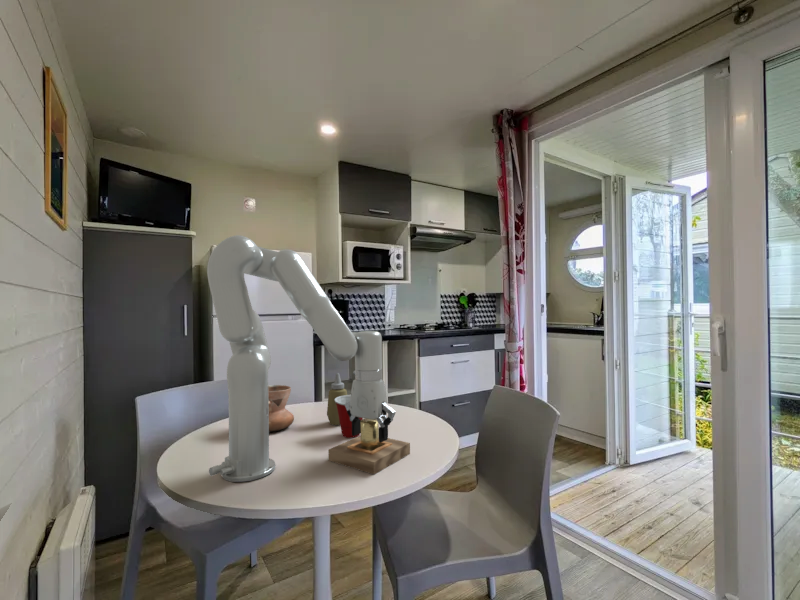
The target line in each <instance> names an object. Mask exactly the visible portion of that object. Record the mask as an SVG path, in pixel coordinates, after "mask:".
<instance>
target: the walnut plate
mask: <svg viewBox="0 0 800 600" xmlns="http://www.w3.org/2000/svg"><path fill="white" fill-rule="evenodd" d="M327 453H328V461H329V462H331V463H335V464H338V465H341V466H346V467H347V468H348V467H349V468H351V469H355V470H358V471H361V472H363V473H364V472H365V473H368V474H371V475H376V474H377V473H380V472H382V471H383V470H384V469H386V468H388V467H390V466H392V465H393V464H395V463H397V462H399V461H400V460H402V459H404V458H405V457H407V456H408V455H410V454H411V442H408V441H403V440H398V439H393V438H389V437H388V439H387V440H386V441H383V442H379V448H377V449H375V450H373V451H369V450H365V449H361V435H359V436H357V437H353V438H352V439H349V440H347V441H345V442H343V443H341V444H337V445H336V446H333V447H331V448H328V452H327Z"/></svg>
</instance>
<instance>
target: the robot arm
mask: <svg viewBox="0 0 800 600" xmlns="http://www.w3.org/2000/svg"><path fill="white" fill-rule="evenodd" d="M206 272H207V282H208V285H209V290H210V294H211V298H212V302H213V307H214V311H215V312H214V313H215V315H216V320H217V323H218V329H219V333H220V334H221V336H222V338H224V339H225V340H226V341H227V342H229V345H230V349H231V353H232V356H231V357H230V358H229V360H228V363H227V366H226V380H227V394H228V456H225V457H224V461H222V462H221V464H219V465H214V466H211V467H209V468H208V473H209V476H210V477H213V476H216V475H220V476H221V477H222V479H224V480H226V481H228V482H233V483H241V482H242V483H243V482H249V481H250V482H251V481H255V480H258V479H261V478H264V477H266V476H268V475H270V474H271V473H273V472H274V471H275V469H276V461H275V460H274V459H272V458H270V432H269V398H268V386H269V369H270V367H271V362H272V358H271V352H270V350H269V349H270V348H269V345H268V342H267V338H266V334H265V330H264V326H263V322H262V320H261V317H260V315H259V313H257V312H256V311H255V310H254V309H253V306H252V303H251V300H250V295H249V291H248V287H247V284H246V281H245V274H246V275H250V276H254V277H257V278H260V279H261V278H262V279H265V280H270V281H275V282H278V283H279V285H280V286H281V288H282V289H283V290H284V292H285V293H286V295H287V296H288V298H289V299H290V301H291V302H292V304H293V306H295V308H296V310H297V311H298V312H299V314H300V315H301V316H302V317H303V319H305V321H307V323H308V324H309V326H310V327H311V328H312V329H313V330H314V331H313V332H315V334H316V335H317V336H318V338H319V339H320V341H321V342H322V344H323V345H324V347H325V348H326V350H327V351H328V353H329V354H330V355H331V357H332V358H333V359H335V360H337V361H339V362H347V361H349V360H351V359H353V358H354V369H355V370H353V375H354V377H355V378H354V379H353V380H352V385H351V391H350V395H351V400H350V401H349V402H347V403H346V404H345V407H346V410H347V414H348V415H349V417H350V421H352V436H355V435H357V434H360V435H361V430H360V421H361V419H359V417H360V418H363V419H370V420H376V419H377V421H378V425H379V442H383V441H386V440H387V439H388V438H389V437H388V436H389V426H390V425H391V423H392V422H393V421H394V417H395V415H396V413H397V412H396V410H394V408H392V407H391V406H390V405H388V402H387V401H388V398H387V391H386V385H385V382H384V380H383V350H382V349H383V337H382V334H381V332H379V331H377V330H366V331H356V332H355V331H351V330H350V328H349V326H348V325H347V323H346V322H345V320H344V318H342V315H340V313H339V312H338V310H337V309H336V308H335V306H334V305H333V304H332V302H331V300H330V298H329V296H328V295H327V294H326V292H325V291H324V290H323V287H321V285H320V283H319V281H317V279H316V277H315V276H314V274H313V273H312V271H311V270H310V269H309V267H308V266H307V264H306V262H305V261H304V260H303V258H302V257H301V256H300V254H299V253H297V251H295V250H293V249H282V250H279V251H277V250H271V249H268V248H264V247H262V246H258V245H257V244H256V242H254V240H252V239H251V238H249V237H247V236H245V235H232V236H228V237H226V238H225V239H224V240H221V241H220V243H218V245H216V246H215V247H214V249H213V250H212V252H211V254H210V256H209V258H208V262H207V268H206Z"/></svg>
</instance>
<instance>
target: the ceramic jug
mask: <svg viewBox="0 0 800 600" xmlns="http://www.w3.org/2000/svg"><path fill="white" fill-rule="evenodd" d="M291 391H292V387H291V386H289V385H285V384H284V385H283V384H274V385H270V384H268V398H269V433H271V432H277V431H281V430H285V429H287V428H289V427H290V426H291V425H292V424H293V423H294V421H295V416H294V414H293V413H292V412H291V411H289V410H288V409H287V408H286V406H287V404H288V401H289V398H290V395H291Z"/></svg>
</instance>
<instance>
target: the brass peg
mask: <svg viewBox="0 0 800 600" xmlns="http://www.w3.org/2000/svg"><path fill="white" fill-rule="evenodd" d="M379 427H380V424H379V423H378V421H377V419H376V420H370V419H365V418H363V419H362V420H361V421H360V430H361V433H360V436H361V449H365V450H369V451H373V450H375V449H377V448H379Z"/></svg>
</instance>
